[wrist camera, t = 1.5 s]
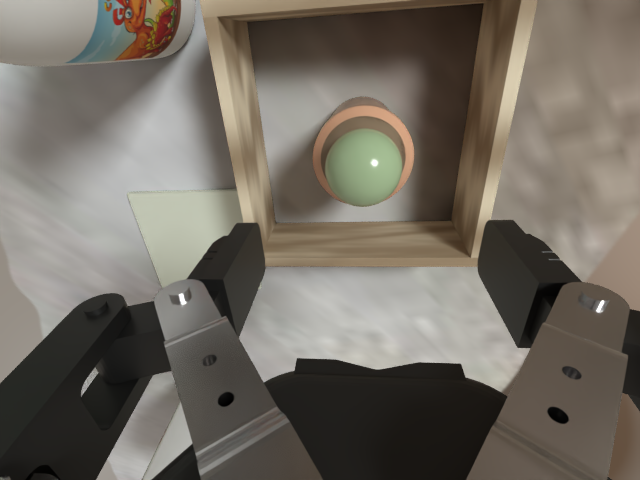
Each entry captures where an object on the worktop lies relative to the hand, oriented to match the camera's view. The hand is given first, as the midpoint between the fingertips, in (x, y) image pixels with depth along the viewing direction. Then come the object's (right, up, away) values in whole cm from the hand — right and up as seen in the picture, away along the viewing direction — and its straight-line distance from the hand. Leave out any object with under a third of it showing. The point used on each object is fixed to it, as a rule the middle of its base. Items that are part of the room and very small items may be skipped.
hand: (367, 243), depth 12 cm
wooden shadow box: (+2, +9, +15) cm, 17 cm away
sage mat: (-14, 0, +21) cm, 25 cm away
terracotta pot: (+2, +9, +15) cm, 17 cm away
